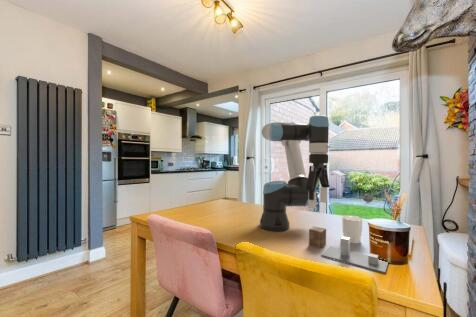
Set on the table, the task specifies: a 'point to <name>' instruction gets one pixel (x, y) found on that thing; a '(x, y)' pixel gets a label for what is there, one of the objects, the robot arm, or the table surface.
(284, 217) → the robot arm
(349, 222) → the white cup
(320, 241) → the brown wooden block
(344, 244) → the post
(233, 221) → the table surface
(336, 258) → the stand
